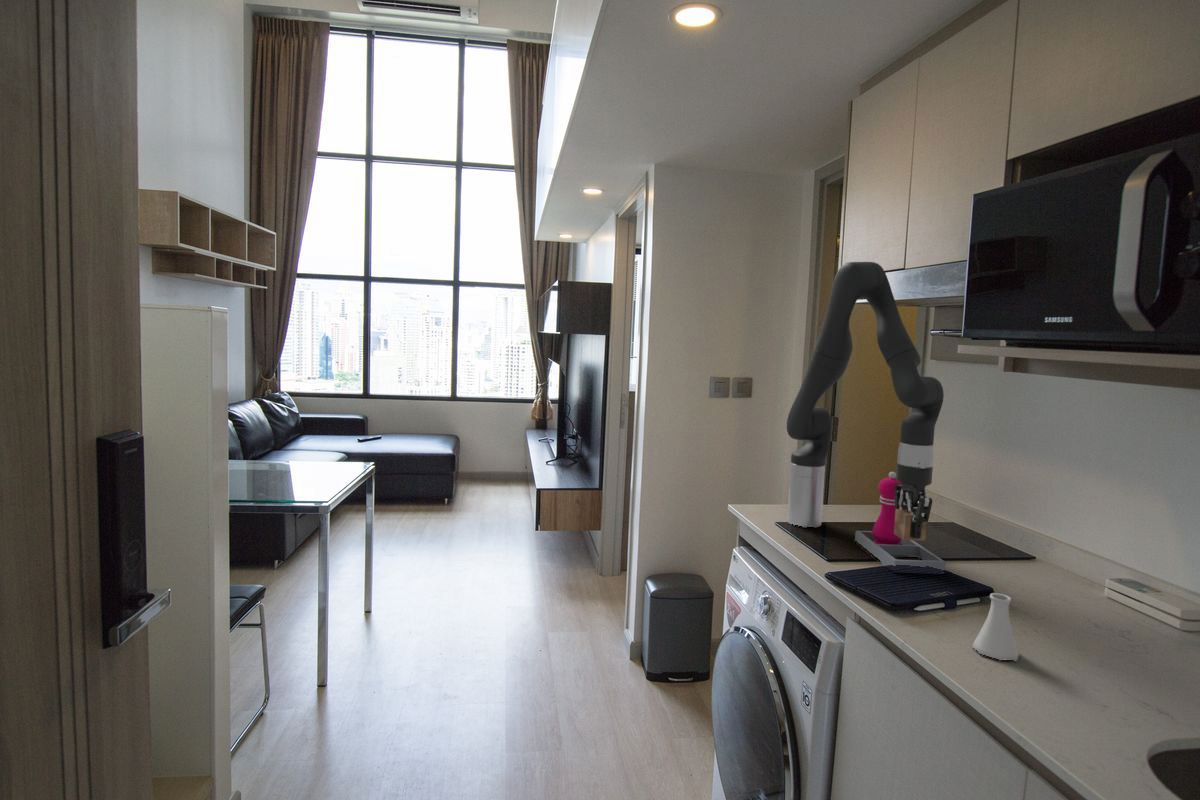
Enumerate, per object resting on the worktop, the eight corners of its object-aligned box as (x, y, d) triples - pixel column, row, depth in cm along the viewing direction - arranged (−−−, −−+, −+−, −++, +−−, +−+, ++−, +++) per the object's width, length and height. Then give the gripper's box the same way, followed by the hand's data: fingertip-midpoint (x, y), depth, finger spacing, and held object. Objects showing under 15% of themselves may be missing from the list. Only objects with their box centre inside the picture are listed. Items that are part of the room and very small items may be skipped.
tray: (854, 541, 174) (855, 530, 174) (898, 542, 174) (899, 531, 174) (893, 573, 152) (894, 560, 152) (944, 574, 152) (945, 561, 152)
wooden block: (893, 533, 159) (895, 509, 159) (914, 534, 160) (916, 509, 159) (903, 540, 154) (905, 514, 154) (925, 540, 155) (927, 515, 154)
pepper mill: (872, 552, 166) (878, 473, 164) (870, 543, 173) (875, 467, 171) (904, 556, 164) (910, 476, 162) (900, 547, 171) (906, 470, 169)
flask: (1024, 666, 111) (1030, 608, 110) (975, 657, 113) (980, 600, 112) (1014, 647, 118) (1020, 592, 116) (968, 639, 120) (973, 585, 119)
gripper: (885, 456, 162) (880, 525, 164) (913, 468, 148) (908, 543, 150) (916, 457, 162) (910, 525, 164) (947, 469, 148) (941, 544, 150)
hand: (909, 533), depth 157 cm, fingers closed on wooden block, 5 cm apart
